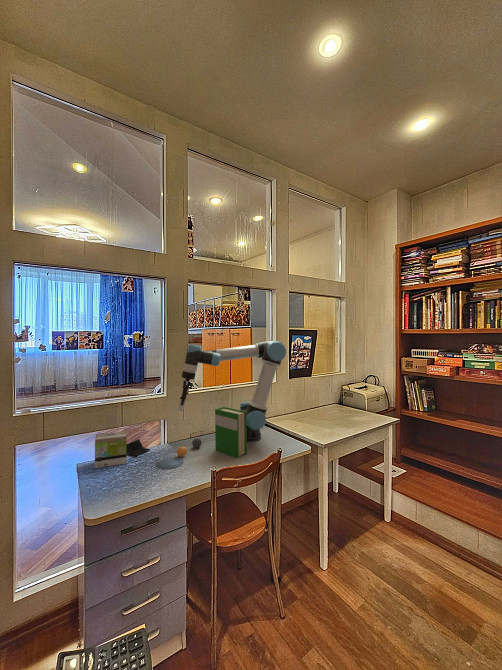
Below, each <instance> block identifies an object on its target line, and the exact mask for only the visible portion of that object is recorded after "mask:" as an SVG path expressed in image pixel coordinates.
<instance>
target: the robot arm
mask: <svg viewBox="0 0 502 670" xmlns="http://www.w3.org/2000/svg"><path fill="white" fill-rule="evenodd" d="M187 347H188V348H187V351H186V355H185V360H184V364H182V366H183V371H182V373H181V378H183V379H185V380H183V382H182V383H183V384H182V385H183V386H182V393H181V395H180V396H181V397H179V400H180V401H179V405H178V409H177V410H178V412H183V411H184V408H185V404H186V400H187V396H188V395H189V393H188V391H189V389H190V385H191V380H195V378H196V374H197V370H198V364H204V365H209V366H213V367H219V365H220V362H224V361H232V360H240V359H241V360H242V359H248V358H257V359H261V361H262V366H261V370H260V372H259V376H258V380H257V382H256V386H255V390H254V393H253V395H252V396H253V397H252V400H251V401H243V402H240V404H239V410H242V411H246V416H247V443H248V442H249V443H250V442H251V443H252V442H256V441H257V442H258V441H260V440H261V439H262V433H261V430H260V429H263V428H264V426H265V425H266V422H267V417H266V416H267V415H266V414H267V410H268V408H267V406H266V404H267V401H268V398H269V395H270V392H271V388H272V385H273V381H274V378H275V375H276V371H277V368H278V367H279V366H281V363H282V360H284V358H285V357H286V356H287V348H286V346H285V345H284V343H282V342H281V341H279V340H267V341H262V342H257V343H255V344H252V345H244V346H243V345H242V346H236V347H235V346H234V347H227V348H221V349H219V348H218V349H212V350H211V349H210V350H207V349H206V350H203V349H202V346H201V345H196V344H189V345H188V346H187Z"/></svg>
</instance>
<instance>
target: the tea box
mask: <svg viewBox="0 0 502 670" xmlns="http://www.w3.org/2000/svg"><path fill="white" fill-rule="evenodd" d="M126 444H127V430H126V431H124V430H123V431H115V432H107V433H98V434H96V435H95V439H94V468H95V469H99V468H105V467H112V466H118V465H126V464H127V451H126Z"/></svg>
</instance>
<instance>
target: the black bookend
mask: <svg viewBox="0 0 502 670" xmlns="http://www.w3.org/2000/svg"><path fill="white" fill-rule="evenodd" d="M149 450H150V451H151V449H150V448H146V447H144V446H143V444H142V442H141V441H140V439H136V440H133V441H131V442H129V443H126V454H127V455H129V456H128V457H133V458H137V457H140V456H142V455H144V454H146V453H148V452H150V451H149Z"/></svg>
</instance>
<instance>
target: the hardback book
mask: <svg viewBox="0 0 502 670" xmlns="http://www.w3.org/2000/svg"><path fill="white" fill-rule="evenodd" d="M214 412H215V413H214V416H215V417H214V421H215V422H214V426H215V435H214V437H215V441H214V442H215V451H216V452H219V453H221V454H224V455H226V456H229V457H232V458H235V459H237V460H238V459H239V458H240V457H241V456H243V455H244V456H246V455H248V446H247V445H248V442H247V416H246V411H242V410H240V409H235V408H232V407H227V406H222V407H218V408H215V409H214Z"/></svg>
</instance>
